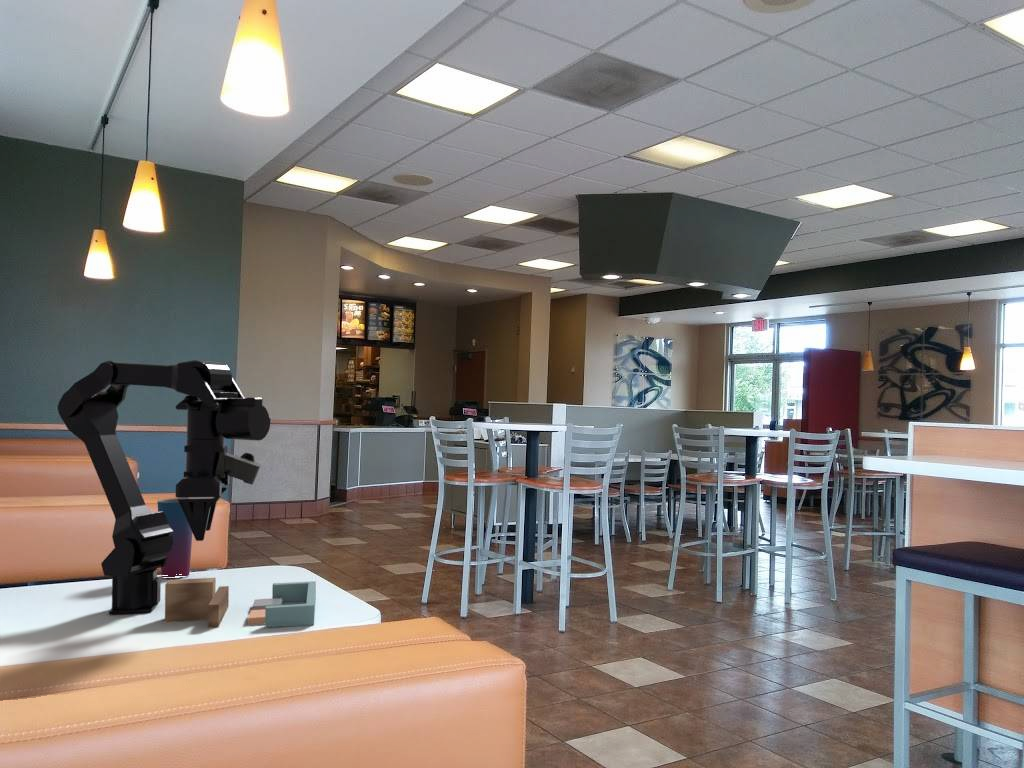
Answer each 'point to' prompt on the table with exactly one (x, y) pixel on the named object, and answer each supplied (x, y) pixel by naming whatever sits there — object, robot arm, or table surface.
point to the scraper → (195, 601)
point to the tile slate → (266, 603)
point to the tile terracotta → (256, 617)
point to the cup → (177, 539)
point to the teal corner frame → (292, 613)
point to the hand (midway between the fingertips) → (203, 535)
